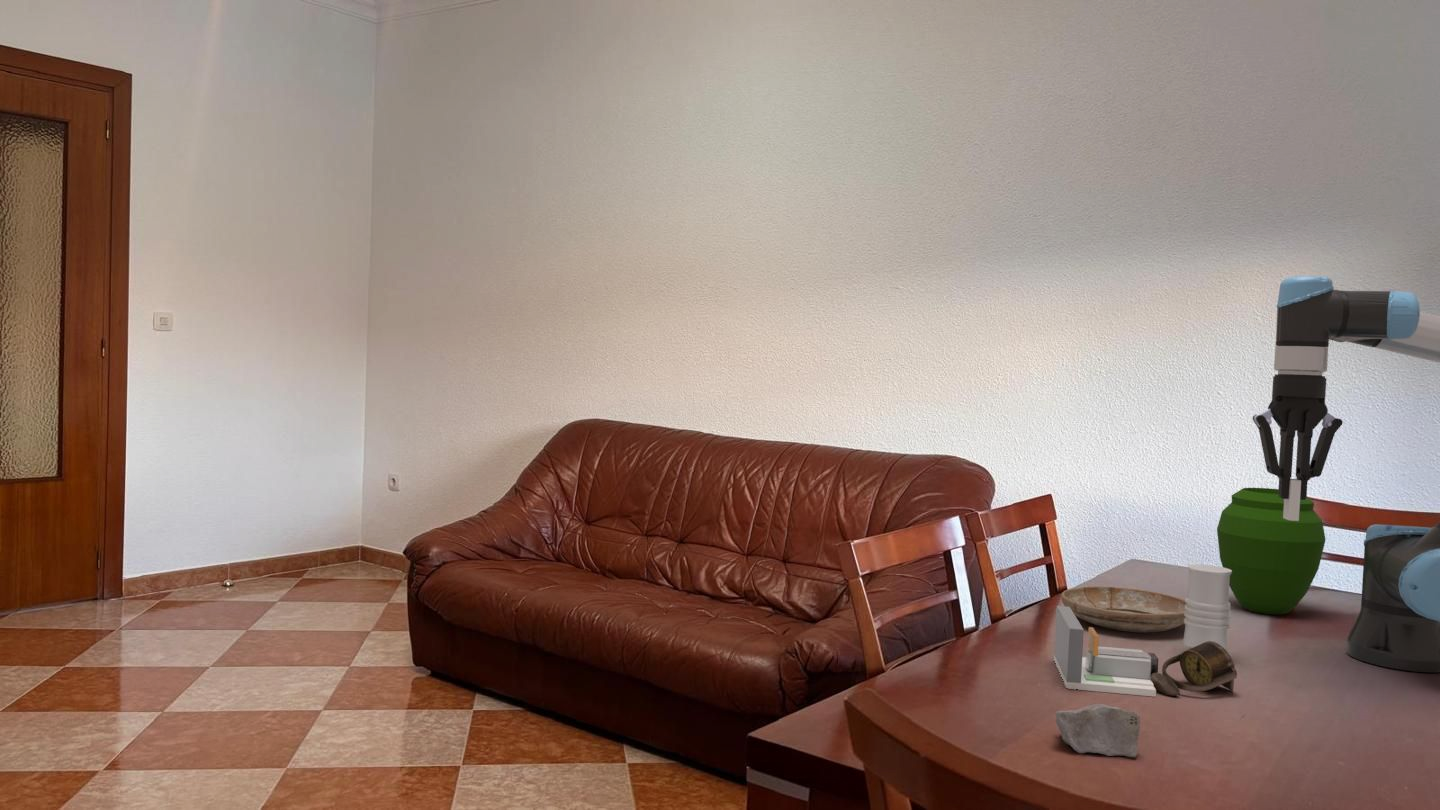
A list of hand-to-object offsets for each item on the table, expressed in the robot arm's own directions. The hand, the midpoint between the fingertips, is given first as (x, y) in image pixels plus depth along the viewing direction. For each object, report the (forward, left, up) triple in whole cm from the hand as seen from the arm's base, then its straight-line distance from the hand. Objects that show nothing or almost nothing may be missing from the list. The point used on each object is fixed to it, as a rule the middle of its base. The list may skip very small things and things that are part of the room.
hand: (1290, 519), depth 169 cm
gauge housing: (+30, +15, -24) cm, 42 cm away
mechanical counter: (+18, +17, -25) cm, 35 cm away
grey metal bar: (+28, +16, -23) cm, 40 cm away
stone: (+36, +47, -25) cm, 64 cm away
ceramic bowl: (+20, -23, -25) cm, 39 cm away
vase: (-11, -45, -25) cm, 52 cm away
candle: (+11, -3, -25) cm, 27 cm away
